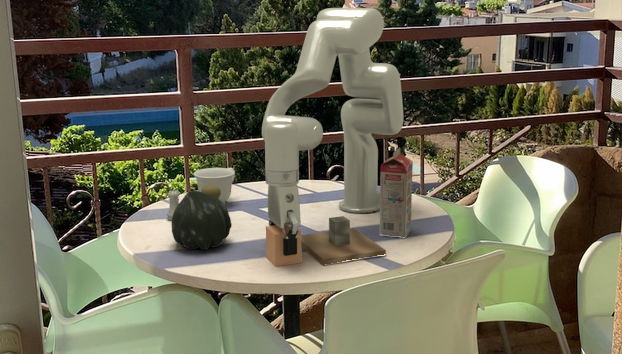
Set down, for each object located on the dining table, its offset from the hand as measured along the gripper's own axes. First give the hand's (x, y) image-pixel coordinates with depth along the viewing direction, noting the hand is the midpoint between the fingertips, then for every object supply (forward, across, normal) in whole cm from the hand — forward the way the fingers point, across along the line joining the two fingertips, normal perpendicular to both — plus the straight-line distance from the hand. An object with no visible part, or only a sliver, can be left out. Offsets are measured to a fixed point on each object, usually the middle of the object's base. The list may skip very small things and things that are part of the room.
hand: (282, 248), depth 167 cm
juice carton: (+3, +7, -33) cm, 34 cm away
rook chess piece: (+3, +42, +17) cm, 45 cm away
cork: (+3, +32, +9) cm, 34 cm away
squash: (+3, +18, +15) cm, 24 cm away
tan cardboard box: (+3, 0, 0) cm, 3 cm away
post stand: (+3, +2, -15) cm, 16 cm away
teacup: (+3, +52, +2) cm, 52 cm away
